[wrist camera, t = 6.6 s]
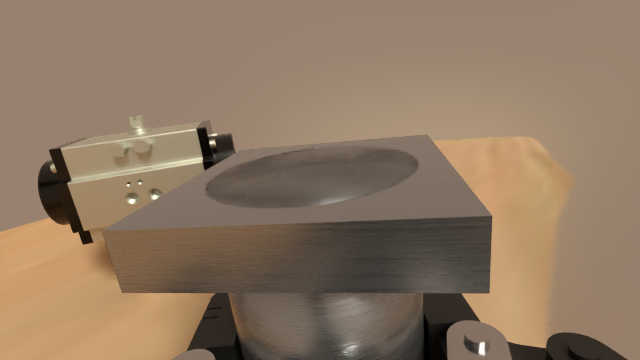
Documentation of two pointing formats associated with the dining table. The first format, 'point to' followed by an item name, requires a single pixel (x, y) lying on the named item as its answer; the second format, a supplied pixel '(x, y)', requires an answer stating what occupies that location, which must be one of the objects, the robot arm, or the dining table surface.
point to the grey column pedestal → (315, 245)
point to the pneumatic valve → (124, 172)
